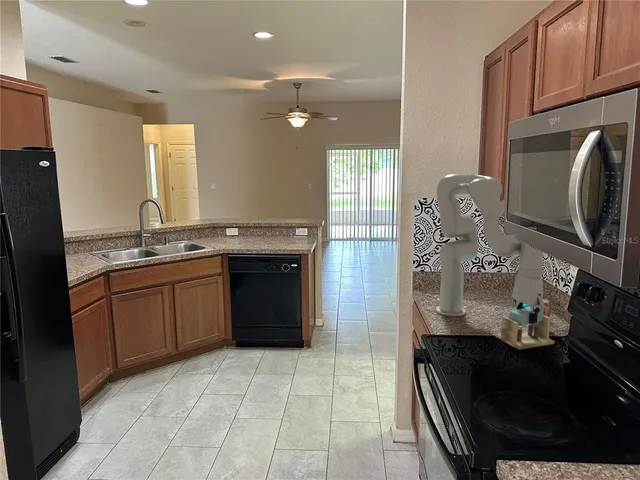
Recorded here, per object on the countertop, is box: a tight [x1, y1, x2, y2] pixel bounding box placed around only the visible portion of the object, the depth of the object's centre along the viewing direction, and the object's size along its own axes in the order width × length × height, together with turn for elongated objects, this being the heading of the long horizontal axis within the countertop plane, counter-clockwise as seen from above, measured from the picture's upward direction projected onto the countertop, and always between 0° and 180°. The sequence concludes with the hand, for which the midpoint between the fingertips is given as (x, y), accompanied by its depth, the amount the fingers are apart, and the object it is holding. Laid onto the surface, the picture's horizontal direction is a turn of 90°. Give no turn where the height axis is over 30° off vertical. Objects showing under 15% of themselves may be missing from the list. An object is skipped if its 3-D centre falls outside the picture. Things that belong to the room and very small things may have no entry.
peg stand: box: [495, 315, 556, 350], centre depth 162 cm, size 12×16×9 cm
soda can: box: [532, 297, 551, 325], centre depth 172 cm, size 7×7×12 cm
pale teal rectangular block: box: [509, 307, 544, 327], centre depth 161 cm, size 12×5×4 cm, turn 119°
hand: (526, 319), depth 161 cm, fingers closed on pale teal rectangular block, 5 cm apart
